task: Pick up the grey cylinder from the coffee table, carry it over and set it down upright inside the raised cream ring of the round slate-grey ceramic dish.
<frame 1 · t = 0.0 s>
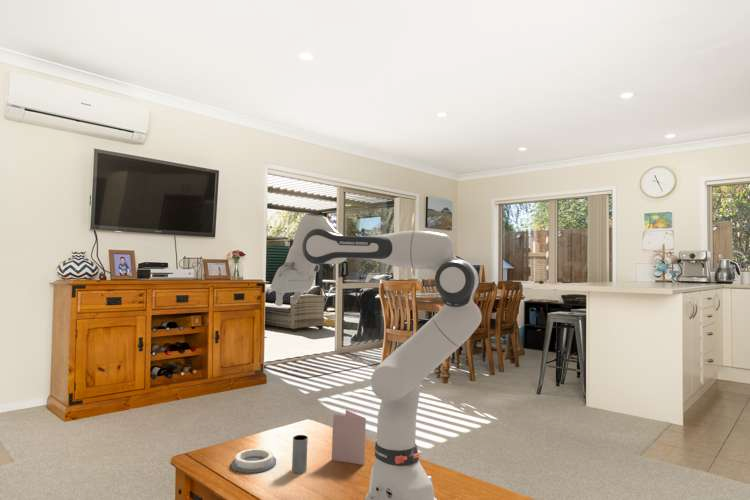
hand: (285, 304, 151), 52 cm above the table, tool tilted 20°, fingers open, 8 cm apart
ring dish: (254, 464, 155), on the table
grey cylinder: (299, 471, 151), on the table
greeting card: (347, 461, 160), on the table
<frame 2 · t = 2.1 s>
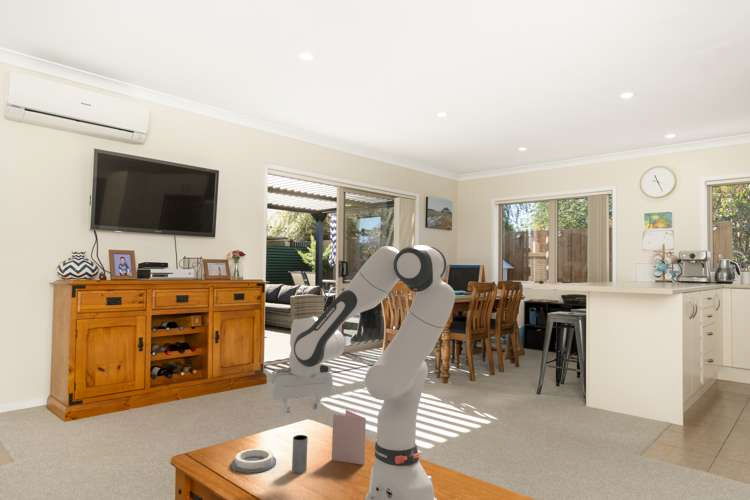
hand: (300, 410, 152), 18 cm above the table, tool pointing down, fingers open, 8 cm apart
nothing on the table moved.
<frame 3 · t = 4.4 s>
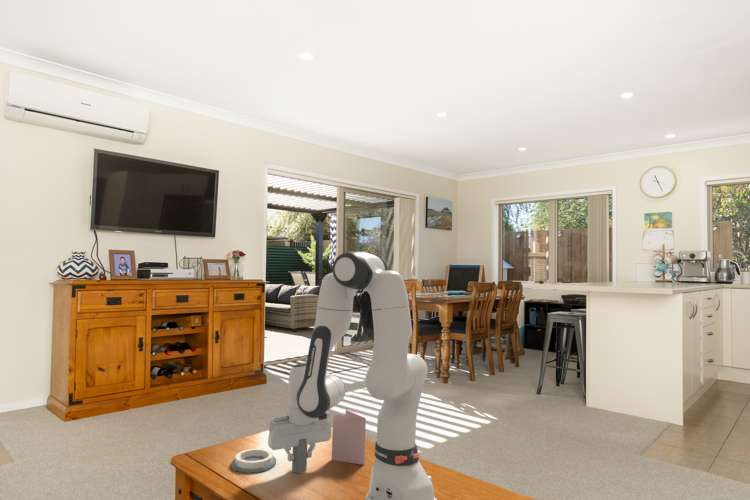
hand: (299, 458, 151), 4 cm above the table, tool pointing down, fingers closed on grey cylinder, 4 cm apart
grey cylinder: (299, 471, 151), on the table, touching gripper
everything else where it was.
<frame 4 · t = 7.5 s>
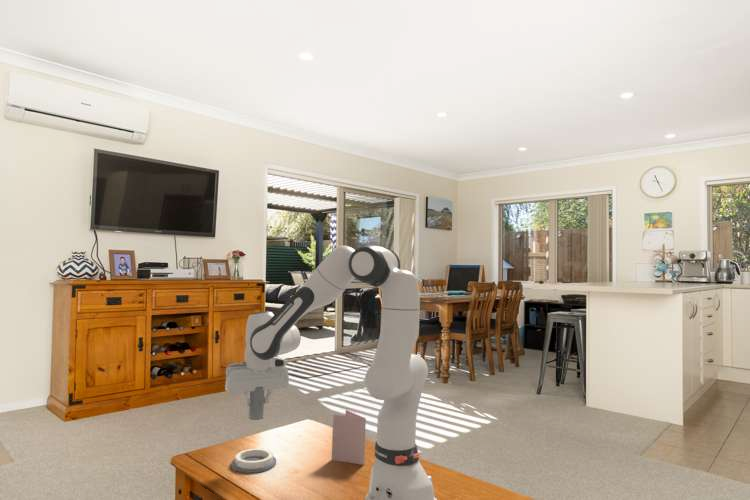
hand: (256, 404, 156), 19 cm above the table, tool pointing down, fingers closed on grey cylinder, 5 cm apart
grey cylinder: (256, 418, 155), point 14 cm above the table, touching gripper
everything else where it was.
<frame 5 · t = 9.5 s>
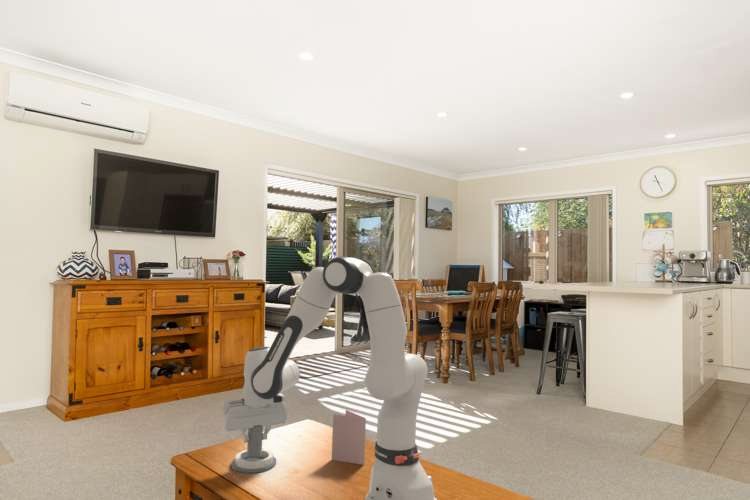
hand: (255, 440, 155), 7 cm above the table, tool pointing down, fingers closed on grey cylinder, 5 cm apart
grey cylinder: (254, 456, 155), point 2 cm above the table, touching gripper
everything else where it was.
when the fingers open (6 cm above the table, at t = 10.7 s): grey cylinder stays where it is, resting on ring dish.
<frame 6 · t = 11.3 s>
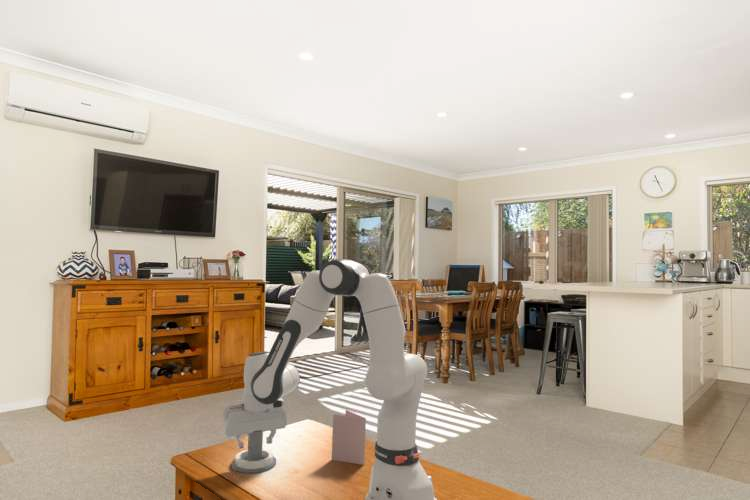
hand: (254, 445, 155), 6 cm above the table, tool pointing down, fingers open, 8 cm apart
grey cylinder: (254, 462, 155), point 1 cm above the table, touching ring dish
everything else where it was.
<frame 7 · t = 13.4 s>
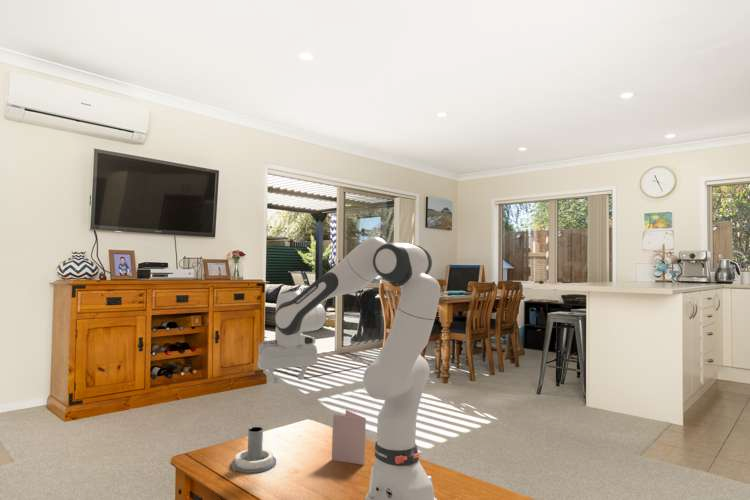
hand: (287, 380, 161), 26 cm above the table, tool pointing down, fingers open, 8 cm apart
nothing on the table moved.
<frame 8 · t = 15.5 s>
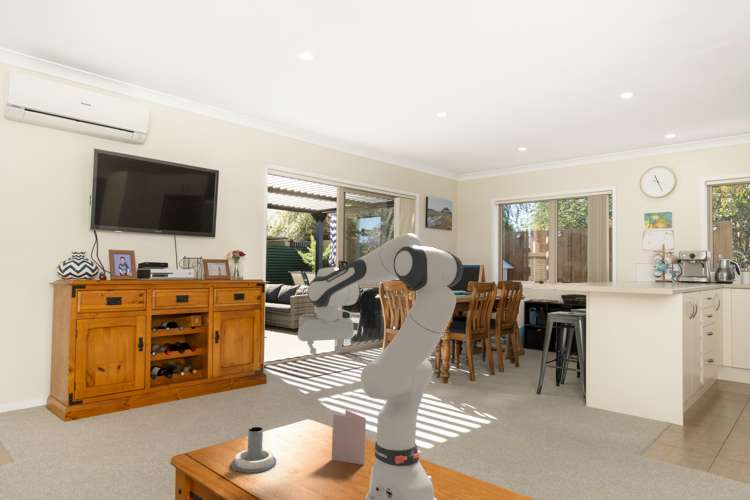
hand: (325, 352, 169), 34 cm above the table, tool pointing down, fingers open, 8 cm apart
nothing on the table moved.
at the end: grey cylinder 0.1 cm off-centre on the ring dish, point 0.6 cm above the ring dish's base; grey cylinder tilted 0°; the gripper is holding nothing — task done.
